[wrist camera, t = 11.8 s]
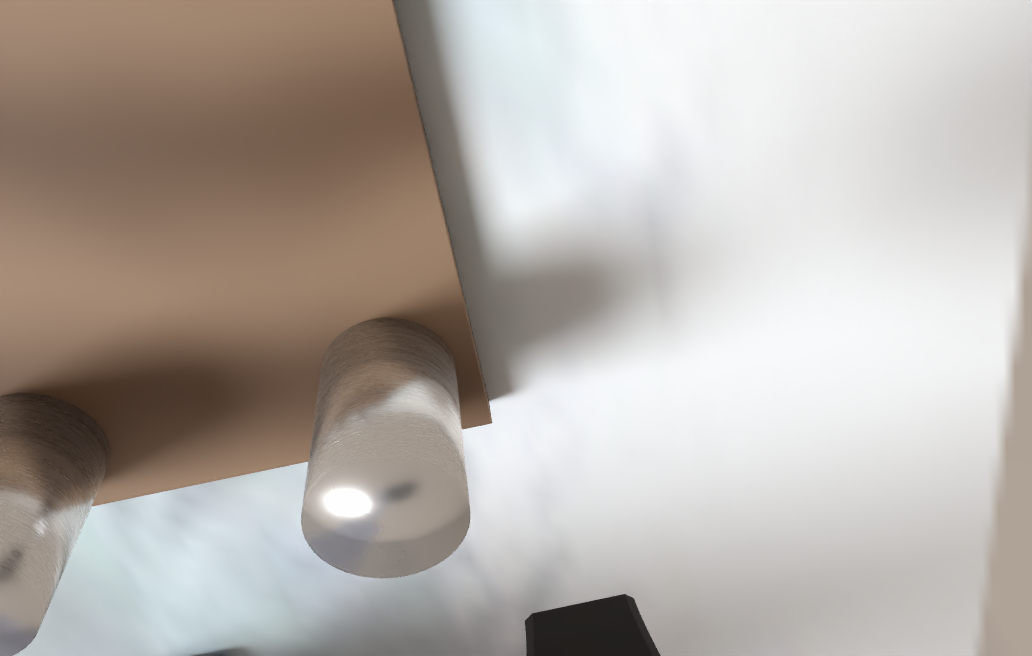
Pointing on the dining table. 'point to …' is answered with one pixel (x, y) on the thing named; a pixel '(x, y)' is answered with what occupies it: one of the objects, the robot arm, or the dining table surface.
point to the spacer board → (211, 221)
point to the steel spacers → (329, 483)
